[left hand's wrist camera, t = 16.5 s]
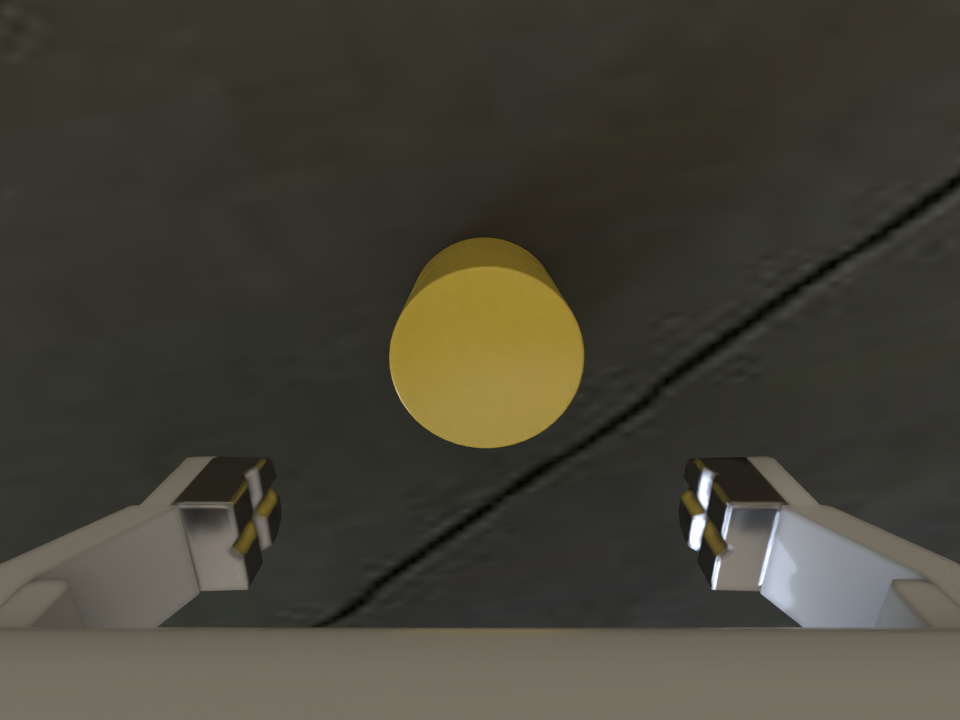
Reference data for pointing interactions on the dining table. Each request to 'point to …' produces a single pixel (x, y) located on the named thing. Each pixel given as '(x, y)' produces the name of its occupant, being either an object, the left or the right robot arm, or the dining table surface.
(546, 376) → the yellow cylinder
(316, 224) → the dining table surface
